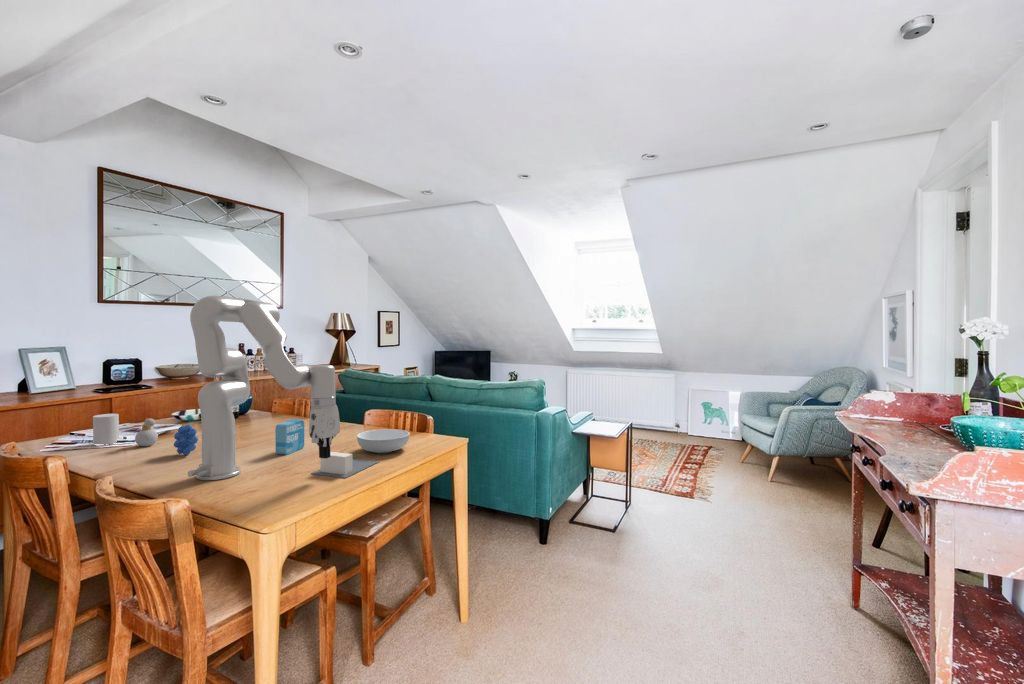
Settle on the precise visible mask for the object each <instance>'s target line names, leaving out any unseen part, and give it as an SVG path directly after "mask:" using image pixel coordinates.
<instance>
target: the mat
mask: <svg viewBox="0 0 1024 684" xmlns="http://www.w3.org/2000/svg"><path fill="white" fill-rule="evenodd" d="M380 462H381V461H380V460H373V459H372V460H371V459H363V458H362V459H361V458H353V457H352V472H350V473H348V474H345V475H344V474H336V473H328V472H320V469H319V468H318V469H317V470H315V471H312V472H311V473H310V475H317V476H324V477H332V478H341V479H348V478H349V477H352V476H354V475H356V474H358V473H361V472H363V471H364V470H366V469H368V468H370V467H373V466H374V465H377V464H378V463H380Z"/></svg>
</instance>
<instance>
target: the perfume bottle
mask: <svg viewBox="0 0 1024 684" xmlns="http://www.w3.org/2000/svg"><path fill="white" fill-rule="evenodd" d="M155 424H156V420H155V419H154V418H148V417H146V418H145V419H144V421H143V424H141V426H142V427H141V430H139V431H138V432H137V433H136V434H135V437H134V441H135V443H136V445H138V446H139V447H151V446H153V445H154V444H156V443H157V441H158V439H159V434H158V432H157V431H156V430H155V429H153V428H152V427H153V426H154V425H155Z"/></svg>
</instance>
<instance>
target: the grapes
mask: <svg viewBox="0 0 1024 684" xmlns="http://www.w3.org/2000/svg"><path fill="white" fill-rule="evenodd" d="M197 433H198V431H197V429H196V428H193V426H192V425H191V424H186V425H181V426H179V427H178V429H177V432H176V433H174V436H173V438H174V439H175V441H174V443H173V446H174V447H175V448H177V449H176V453H178V454H182V455H184V456H188V455H189V454H191V452H193V451H195V449H196V448H197V446H196V445H197V443H198V441H199V437H198V436H197Z"/></svg>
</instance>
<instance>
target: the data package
mask: <svg viewBox="0 0 1024 684" xmlns="http://www.w3.org/2000/svg"><path fill="white" fill-rule="evenodd" d="M303 448H305V421H304V419H295V418H294V419H289V420H287V421H284V422H280V423H277V424H276V426H275V454H276V455H284V456H285V455H290V454H293V453H295V452H298V451H301V450H302V449H303Z"/></svg>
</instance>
